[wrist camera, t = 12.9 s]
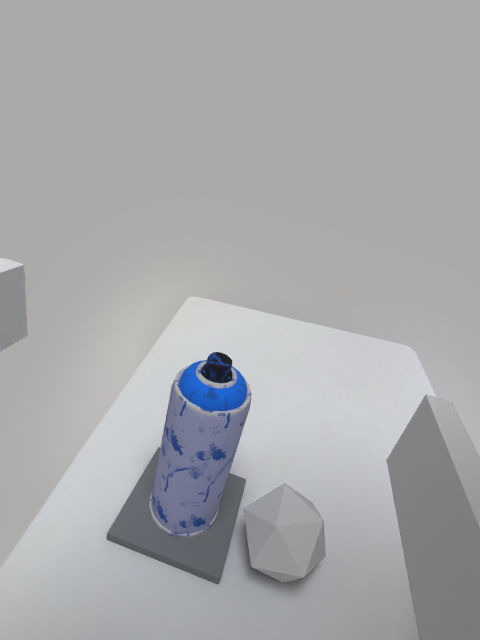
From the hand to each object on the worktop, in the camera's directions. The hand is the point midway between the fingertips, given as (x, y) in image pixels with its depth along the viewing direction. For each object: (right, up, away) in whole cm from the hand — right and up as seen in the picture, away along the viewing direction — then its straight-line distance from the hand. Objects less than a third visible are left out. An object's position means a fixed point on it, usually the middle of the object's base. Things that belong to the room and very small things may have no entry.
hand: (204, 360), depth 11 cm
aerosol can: (-5, -20, +29) cm, 35 cm away
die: (+5, -24, +27) cm, 37 cm away
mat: (-5, -20, +29) cm, 36 cm away
